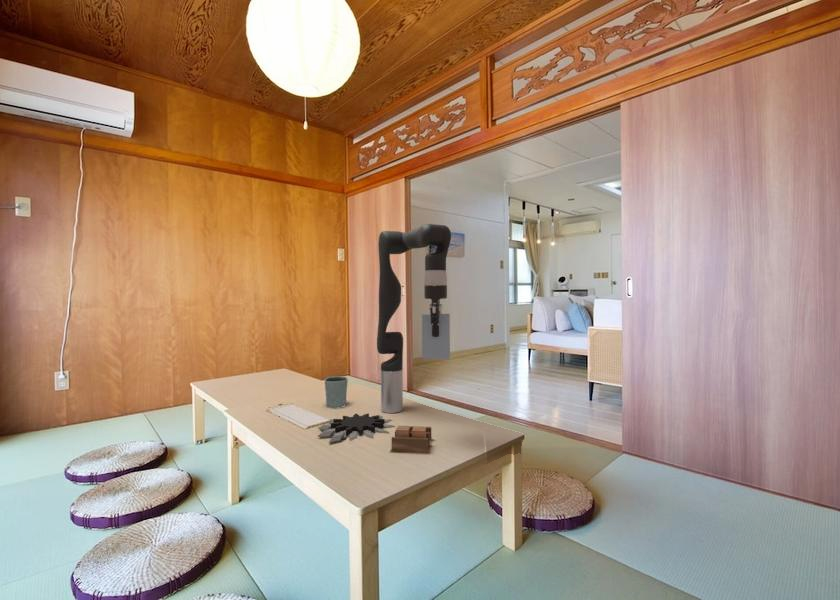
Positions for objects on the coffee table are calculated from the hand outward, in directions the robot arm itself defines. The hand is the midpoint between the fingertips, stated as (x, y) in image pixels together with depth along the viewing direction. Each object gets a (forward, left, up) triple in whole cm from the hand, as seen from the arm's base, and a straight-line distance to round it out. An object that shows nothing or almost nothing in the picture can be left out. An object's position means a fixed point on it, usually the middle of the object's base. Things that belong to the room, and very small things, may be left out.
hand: (436, 335), depth 128 cm
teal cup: (-36, -48, -35) cm, 70 cm away
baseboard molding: (-18, -58, -36) cm, 71 cm away
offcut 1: (+11, -9, -34) cm, 37 cm away
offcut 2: (+11, -4, -34) cm, 36 cm away
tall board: (0, 0, -8) cm, 8 cm away
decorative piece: (-6, -29, -36) cm, 46 cm away
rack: (+9, -7, -35) cm, 37 cm away
